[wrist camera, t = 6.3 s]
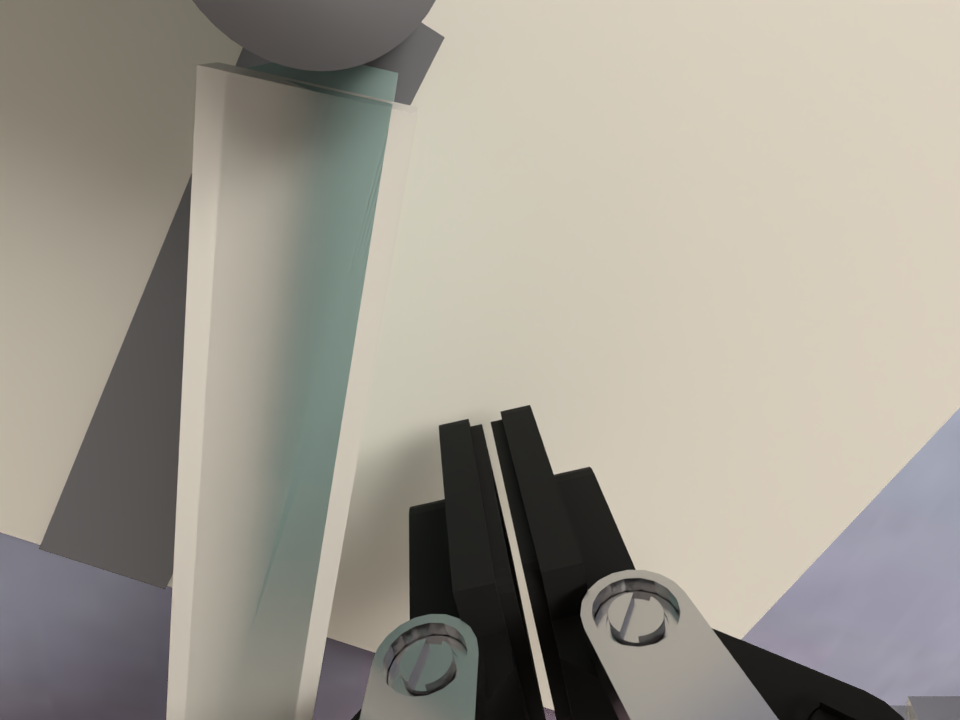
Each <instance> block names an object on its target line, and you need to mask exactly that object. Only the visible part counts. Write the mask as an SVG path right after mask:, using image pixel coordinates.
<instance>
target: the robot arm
mask: <svg viewBox="0 0 960 720" xmlns="http://www.w3.org/2000/svg"><path fill="white" fill-rule="evenodd" d="M500 412H501V417H502V419H501V420H497V421H492V422H491V427H492V431H493V436H494V440H495V445H496V450H497V454H498V459H499V463H500V468H501V472H502V477H503V481H504V486H505V490H506V495H507V499H508V504H509V508H510V513H511V518H512V522H513V527H514V531H515V536H516V540H517V545H518V549H519V554H520V558H521V563H522V567H523V572H524V576H525V581H526V585H527V590H528V594H529V599H530V603H531V608H532V612H533V617H534V621H535V626H536V630H537V634H538V639H539V643H540V648H541V652H542V657H543V661H544V666H545V670H546V675H547V679H548V684H549V688H550V693H551V697H552V701H553V706H554V710H555V715H556V719H557V720H960V696H910V697H908V699H907V706H889V705H888V704H887V703H886V702H884V701H882V700H881V699H879V698H877V697H875V696H873V695H871V694H869V693H868V692H866V691H864V690H861V689H859V688H857V687H854V686H852V685H849V684H847V683H844V682H842V681H840V680H837V679H835V678H832V677H830V676H827V675H825V674H822V673H820V672H818V671H815V670H813V669H810V668H808V667H805V666H803V665H801V664H798V663H796V662H793V661H791V660H788V659H786V658H784V657H781V656H779V655H776V654H774V653H771V652H769V651H767V650H764V649H762V648H759V647H757V646H754V645H752V644H750V643H747V642H745V641H742V640H740V639H737V638H735V637H733V636H730V635H728V634H725V633H723V632H720V631H718V630H715V629H713V628H711V627H710V625H709V624H708V623H707V621H706V620H705V619H704V617H703V616H702V614H701V613H700V612H699V610H698V609H697V608H696V606H695V605H694V604H693V602H692V601H691V599H690V598H689V597H688V595H687V594H686V593H685V592H684V591H683V590H682V589H681V588H680V587H679V586H678V585H677V584H676V583H675V582H674V581H672V580H670V579H669V578H667V577H665V576H663V575H661V574H658V573H654V572H650V571H646V570H636V569H635V567H634V564H633V562H632V560H631V557H630V555H629V553H628V551H627V548H626V546H625V544H624V541H623V539H622V537H621V534H620V532H619V530H618V527H617V525H616V523H615V520H614V518H613V516H612V513H611V511H610V509H609V506H608V504H607V502H606V499H605V497H604V495H603V492H602V490H601V488H600V486H599V483H598V481H597V479H596V476H595V474H594V472H593V470H592V468H591V467H586V468H581V469H577V470H572V471H568V472H564V473H559V474H555V475H554V474H553V471H552V468H551V465H550V462H549V459H548V456H547V453H546V450H545V447H544V444H543V441H542V438H541V435H540V432H539V429H538V426H537V423H536V420H535V417H534V415H533V412H532V409H531V406H530V405H527V406H523V407H518V408H514V409H509V410H505V411H500ZM439 438H440V450H441V462H442V473H443V485H444V497H445V499H443V500H439V501H434V502H430V503H425V504H421V505H416V506H412V507H410V509H409V604H410V620H409V621H407V622H405V623H403V624H401V625H399V626H398V627H397V628H396V629H395V630H393V631H392V632H391V633H390V634H388V635H387V636H386V638H385V639H384V640H383V642H382V643H381V644H380V646H379V647H378V648H377V651H376V653H375V656H374V659H373V661H372V664H371V669H370V674H369V678H368V683H367V687H366V692H365V696H364V701H363V705H362V709H361V710H360V711H359V712H358V713H357V714H356V715H355V716H354V717H353V718H352V719H351V720H546V718H545V713H544V709H543V704H542V699H541V694H540V689H539V684H538V679H537V674H536V669H535V665H534V660H533V655H532V650H531V645H530V640H529V635H528V630H527V625H526V621H525V616H524V611H523V606H522V601H521V596H520V591H519V586H518V581H517V577H516V572H515V567H514V562H513V557H512V552H511V548H510V543H509V539H508V535H507V530H506V526H505V522H504V517H503V513H502V508H501V504H500V500H499V495H498V491H497V487H496V482H495V478H494V474H493V469H492V465H491V461H490V456H489V452H488V448H487V443H486V439H485V435H484V430H483V426H482V424H479V425H475V426H470V422H469V419H465V420H460V421H456V422H451V423H447V424H442V425H439Z"/></svg>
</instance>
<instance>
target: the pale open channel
mask: <svg viewBox="0 0 960 720" xmlns="http://www.w3.org/2000/svg"><path fill="white" fill-rule="evenodd" d="M397 79H398V73H396V72H392V71H388V70H383V69H379V68H375V67H371V66H366V65H359V66H356V67H352V68H347V69H342V70H334V71H309V70H300V69H296V68H291V67H286V66H283V65H280V64H277V63H274V62H272V63H267V64H262V65H257V66H252V67H247V68H242V67H238V66H233V65H229V64H224V63H220V62H215V63H208V64H201V65H197V81H196V103H195V124H194V145H193V166H192V187H191V208H190V229H189V250H188V271H187V293H186V314H185V335H184V356H183V377H182V398H181V419H180V440H179V461H178V482H177V504H176V525H175V546H174V567H173V588H172V609H171V630H170V651H169V672H168V694H167V715H166V720H312V718H313V712H314V706H315V701H316V695H317V689H318V683H319V678H320V672H321V666H322V661H323V655H324V649H325V643H326V638H327V632H328V626H329V621H330V615H331V609H332V603H333V598H334V592H335V586H336V581H337V575H338V569H339V563H340V558H341V552H342V546H343V540H344V535H345V529H346V523H347V518H348V512H349V506H350V500H351V495H352V489H353V483H354V478H355V472H356V466H357V460H358V455H359V449H360V443H361V438H362V432H363V426H364V420H365V415H366V409H367V403H368V398H369V392H370V386H371V380H372V375H373V369H374V363H375V357H376V352H377V346H378V340H379V335H380V329H381V323H382V317H383V312H384V306H385V300H386V295H387V289H388V283H389V277H390V272H391V266H392V260H393V255H394V249H395V243H396V237H397V232H398V226H399V220H400V215H401V209H402V203H403V197H404V192H405V186H406V180H407V174H408V169H409V163H410V157H411V152H412V146H413V140H414V134H415V129H416V123H417V117H418V111H417V107H414V106H410V105H406V104H401V103H397V102H394V98H395V92H396V86H397Z"/></svg>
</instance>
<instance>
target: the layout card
mask: <svg viewBox="0 0 960 720" xmlns="http://www.w3.org/2000/svg"><path fill="white" fill-rule="evenodd" d="M215 62H220V63H224V64H229V65H233V66H238V67H242V68H247V67H252V66H257V65H262V64H267V63H272V62H271V61H268V60H266V59H264V58H262V57H260V56H258V55H256V54H254V53H252V52H250V51H248V50H246V49H245V48H243V47H242V46H240V45H239V44H237V43H236V42H234V41H233V40H231V39H230V38H229V37H228V36H226V35H225V34H224V33H223V32H222V31H220V30H219V29H218V28H217V27H216V26H214V24H213V23H212V22H211V21H210V20H209V19H208V18H207V17H206V16H205V15H204V14H203V13H202V12H201V11H200V10H199V8H198V7H197V6H196V4H195V3H194V2H193V1H192V0H0V532H1V533H4V534H8V535H11V536H14V537H17V538H20V539H23V540H26V541H29V542H32V543H36V544H39V545H40V547H39V549H41V550H44V551H47V552H50V553H54V554H57V555H60V556H63V557H66V558H69V559H72V560H76V561H79V562H82V563H85V564H88V565H91V566H94V567H97V568H101V569H104V570H107V571H110V572H113V573H116V574H119V575H122V576H126V577H129V578H132V579H135V580H138V581H141V582H144V583H147V584H151V585H154V586H157V587H160V588H163V589H166V587H167V586H169V587H172V588H173V567H174V546H175V525H176V504H177V482H178V461H179V440H180V419H181V398H182V377H183V356H184V335H185V314H186V293H187V271H188V250H189V229H190V208H191V187H192V166H193V145H194V124H195V103H196V81H197V65H201V64H208V63H215ZM362 65H366V66H371V67H375V68H379V69H383V70H388V71H392V72H396V73H398V79H397V86H396V92H395V98H394V102H397V103H401V104H406V105H410V106H414V107H417V111H418V117H417V123H416V129H415V134H414V140H413V146H412V152H411V157H410V163H409V169H408V174H407V180H406V186H405V192H404V197H403V203H402V209H401V215H400V220H399V226H398V232H397V237H396V243H395V249H394V255H393V260H392V266H391V272H390V277H389V283H388V289H387V295H386V300H385V306H384V312H383V317H382V323H381V329H380V335H379V340H378V346H377V352H376V357H375V363H374V369H373V375H372V380H371V386H370V392H369V398H368V403H367V409H366V415H365V420H364V426H363V432H362V438H361V443H360V449H359V455H358V460H357V466H356V472H355V478H354V483H353V489H352V495H351V500H350V506H349V512H348V518H347V523H346V529H345V535H344V540H343V546H342V552H341V558H340V563H339V569H338V575H337V581H336V586H335V592H334V598H333V603H332V609H331V615H330V621H329V626H328V632H327V637H328V638H331V639H334V640H337V641H340V642H343V643H346V644H350V645H353V646H356V647H359V648H362V649H365V650H368V651H371V652H374V653H376V651H377V648H378V647H379V646H380V644H381V643H382V642H383V640H384V639H385V638H386V636H387V635H388V634H390V633H391V632H392V631H393V630H395V629H396V628H397V627H398V626H399V625H401V624H403V623H405V622H407V621H409V620H410V604H409V509H410V507H412V506H416V505H421V504H425V503H430V502H434V501H439V500H443V499H445V497H444V485H443V473H442V462H441V450H440V438H439V425H442V424H447V423H451V422H456V421H460V420H465V419H469V422H470V426H475V425H479V424H482V426H483V430H484V435H485V439H486V443H487V448H488V452H489V456H490V461H491V465H492V469H493V474H494V478H495V482H496V487H497V491H498V495H499V500H500V504H501V508H502V513H503V517H504V522H505V526H506V530H507V535H508V539H509V543H510V548H511V552H512V557H513V562H514V567H515V572H516V577H517V581H518V586H519V591H520V596H521V601H522V606H523V611H524V616H525V621H526V625H527V630H528V635H529V640H530V645H531V650H532V655H533V660H534V665H535V669H536V674H537V679H538V684H539V689H540V694H541V699H542V704H543V707H545V708H549V709H552V710H554V706H553V701H552V697H551V693H550V688H549V684H548V679H547V675H546V670H545V666H544V661H543V657H542V652H541V648H540V643H539V639H538V634H537V630H536V626H535V621H534V617H533V612H532V608H531V603H530V599H529V594H528V590H527V585H526V581H525V576H524V572H523V567H522V563H521V558H520V554H519V549H518V545H517V540H516V536H515V531H514V527H513V522H512V518H511V513H510V508H509V504H508V499H507V495H506V490H505V486H504V481H503V477H502V472H501V468H500V463H499V459H498V454H497V450H496V445H495V440H494V436H493V431H492V427H491V422H492V421H497V420H501V419H502V417H501V412H500V411H505V410H509V409H514V408H518V407H523V406H527V405H530V406H531V409H532V412H533V415H534V417H535V420H536V423H537V426H538V429H539V432H540V435H541V438H542V441H543V444H544V447H545V450H546V453H547V456H548V459H549V462H550V465H551V468H552V471H553V474H554V475H555V474H559V473H564V472H568V471H572V470H577V469H581V468H586V467H591V468H592V470H593V472H594V474H595V476H596V479H597V481H598V483H599V486H600V488H601V490H602V492H603V495H604V497H605V499H606V502H607V504H608V506H609V509H610V511H611V513H612V516H613V518H614V520H615V523H616V525H617V527H618V530H619V532H620V534H621V537H622V539H623V541H624V544H625V546H626V548H627V551H628V553H629V555H630V557H631V560H632V562H633V564H634V567H635V569H636V570H646V571H650V572H654V573H658V574H661V575H663V576H665V577H667V578H669V579H670V580H672V581H674V582H675V583H676V584H677V585H678V586H679V587H680V588H681V589H682V590H683V591H684V592H685V593H686V594H687V595H688V597H689V598H690V599H691V601H692V602H693V604H694V605H695V606H696V608H697V609H698V610H699V612H700V613H701V614H702V616H703V617H704V619H705V620H706V621H707V623H708V624H709V625H710V627H711V628H713V629H715V630H718V631H720V632H723V633H725V634H728V635H730V636H733V637H735V638H737V639H740V640H741V639H742V638H743V637H744V636H745V635H746V634H747V633H748V632H749V630H750V629H751V628H752V627H753V626H754V625H755V624H756V623H757V622H758V621H759V620H760V619H761V618H762V617H763V616H764V615H765V613H766V612H767V611H768V610H769V609H770V608H771V607H772V606H773V605H774V604H775V603H776V602H777V601H778V600H779V599H780V598H781V596H782V595H783V594H784V593H785V592H786V591H787V590H788V589H789V588H790V587H791V586H792V585H793V584H794V583H795V582H796V581H797V580H798V578H799V577H800V576H801V575H802V574H803V573H804V572H805V571H806V570H807V569H808V568H809V567H810V566H811V565H812V564H813V563H814V561H815V560H816V559H817V558H818V557H819V556H820V555H821V554H822V553H823V552H824V551H825V550H826V549H827V548H828V547H829V546H830V545H831V543H832V542H833V541H834V540H835V539H836V538H837V537H838V536H839V535H840V534H841V533H842V532H843V531H844V530H845V529H846V528H847V526H848V525H849V524H850V523H851V522H852V521H853V520H854V519H855V518H856V517H857V516H858V515H859V514H860V513H861V512H862V511H863V509H864V508H865V507H866V506H867V505H868V504H869V503H870V502H871V501H872V500H873V499H874V498H875V497H876V496H877V495H878V494H879V493H880V491H881V490H882V489H883V488H884V487H885V486H886V485H887V484H888V483H889V482H890V481H891V480H892V479H893V478H894V477H895V476H896V474H897V473H898V472H899V471H900V470H901V469H902V468H903V467H904V466H905V465H906V464H907V463H908V462H909V461H910V460H911V459H912V458H913V456H914V455H915V454H916V453H917V452H918V451H919V450H920V449H921V448H922V447H923V446H924V445H925V444H926V443H927V442H928V441H929V439H930V438H931V437H932V436H933V435H934V434H935V433H936V432H937V431H938V430H939V429H940V428H941V427H942V426H943V425H944V424H945V422H946V421H947V420H948V419H949V418H950V417H951V416H952V415H953V414H954V413H955V412H956V411H957V410H958V409H959V408H960V0H436V1H435V2H434V4H433V6H432V8H431V9H430V11H429V13H428V14H427V15H426V17H425V18H424V19H423V21H422V22H421V23H420V24H419V26H418V27H417V28H416V29H415V30H414V31H413V32H412V33H411V34H410V35H409V36H408V37H407V38H406V39H405V40H404V41H403V42H401V43H400V44H399V45H397V46H396V47H395V48H393V49H392V50H391V51H389V52H388V53H386V54H384V55H382V56H380V57H378V58H377V59H375V60H373V61H370V62H367V63H365V64H362Z"/></svg>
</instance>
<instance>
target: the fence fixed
mask: <svg viewBox="0 0 960 720" xmlns="http://www.w3.org/2000/svg"><path fill="white" fill-rule="evenodd" d="M192 1H193V2H194V3H195V4H196V6H197V7H198V8H199V10H200V11H201V12H202V13H203V14H204V15H205V16H206V17H207V18H208V19H209V20H210V21H211V22H212V23H213V24H214V26H216V27H217V28H218V29H219V30H220V31H222V32H223V33H224V34H225V35H226V36H228V37H229V38H230V39H231V40H233V41H234V42H236V43H237V44H239V45H240V46H242V47H243V48H245V49H246V50H248V51H250V52H252V53H254V54H256V55H258V56H260V57H262V58H264V59H266V60H268V61H271V62H274V63H277V64H280V65H283V66H286V67H291V68H296V69H300V70H309V71H334V70H342V69H347V68H352V67H356V66H359V65H362V64H365V63H367V62H370V61H373V60H375V59H377V58H378V57H380V56H382V55H384V54H386V53H388V52H389V51H391V50H392V49H393V48H395V47H396V46H397V45H399V44H400V43H401V42H403V41H404V40H405V39H406V38H407V37H408V36H409V35H410V34H411V33H412V32H413V31H414V30H415V29H416V28H417V27H418V26H419V24H420V23H421V22H422V21H423V19H424V18H425V17H426V15H427V14H428V13H429V11H430V9H431V8H432V6H433V4H434V2H435V1H436V0H192Z"/></svg>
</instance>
